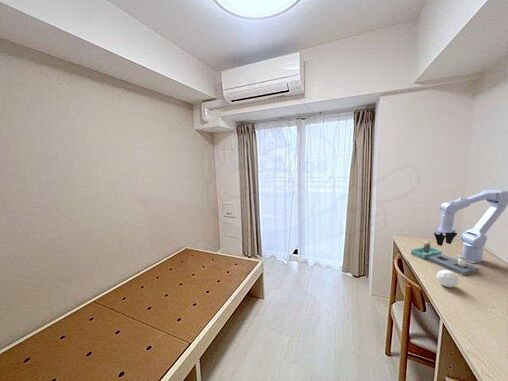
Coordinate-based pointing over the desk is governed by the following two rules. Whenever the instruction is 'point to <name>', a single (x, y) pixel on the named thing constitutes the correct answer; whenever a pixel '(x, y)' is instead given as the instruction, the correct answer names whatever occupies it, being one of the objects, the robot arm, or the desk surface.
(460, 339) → the desk surface
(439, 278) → the geometric ball
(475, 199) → the robot arm
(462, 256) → the fuse
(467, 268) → the fuse block
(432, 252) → the tray
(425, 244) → the led light bulb
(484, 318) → the desk surface
